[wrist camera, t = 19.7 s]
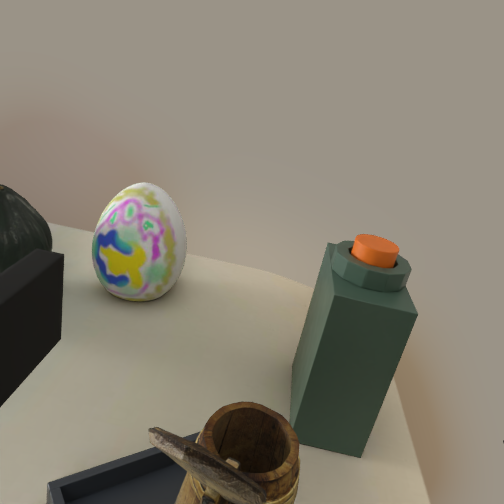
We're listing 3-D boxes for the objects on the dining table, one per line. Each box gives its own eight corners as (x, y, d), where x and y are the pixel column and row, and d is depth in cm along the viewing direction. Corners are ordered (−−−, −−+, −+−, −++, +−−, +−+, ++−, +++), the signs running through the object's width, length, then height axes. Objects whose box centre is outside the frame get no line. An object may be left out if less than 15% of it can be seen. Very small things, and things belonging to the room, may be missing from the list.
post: (360, 458, 44) (426, 294, 37) (288, 441, 44) (340, 275, 37) (349, 378, 55) (398, 241, 48) (292, 365, 55) (332, 226, 48)
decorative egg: (69, 290, 60) (75, 180, 54) (121, 259, 71) (130, 164, 65) (153, 321, 58) (169, 208, 52) (193, 283, 69) (210, 187, 63)
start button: (396, 274, 41) (403, 256, 40) (352, 263, 41) (358, 246, 40) (389, 256, 44) (395, 240, 44) (348, 247, 45) (353, 230, 44)
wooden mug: (73, 643, 26) (93, 397, 19) (200, 477, 38) (242, 285, 31) (205, 755, 23) (288, 511, 16) (300, 537, 35) (371, 340, 28)
